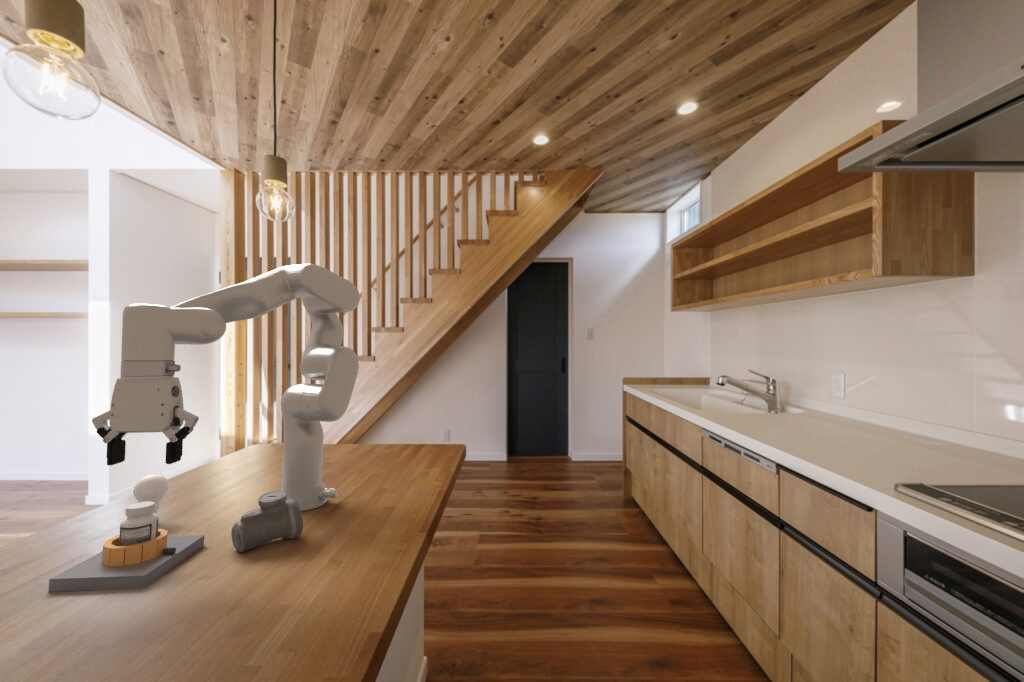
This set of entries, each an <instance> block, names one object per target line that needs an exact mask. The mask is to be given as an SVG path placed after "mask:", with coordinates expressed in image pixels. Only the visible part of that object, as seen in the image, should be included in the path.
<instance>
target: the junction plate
mask: <svg viewBox="0 0 1024 682" xmlns="http://www.w3.org/2000/svg"><path fill="white" fill-rule="evenodd" d="M119 539H120V534H118V535H116V536H113V537H112V538H110V539H107V540H106V541H104V544H103V545H102V551H100V552H99V553H96V554H95V555H93V556H91V557H89V558H87V559H85V560H83V561H81V562H79V563H77V564H75V565H73V566H72V567H70V568H67V569H66V570H64V571H62V572H60V573H58V574H56V575H54V576H53V577H51V578H49V579H48V590H47V591H48V593H49V592H50V593H54V592H55V591H56V592H58V591H59V592H77V591H98V590H99V591H102V590H103V591H105V590H106V591H107V590H122V589H123V590H127V589H128V590H129V589H145V588H146V587H147V586H149V585H150V584H151V583H153V582H154V581H156V580H157V579H159V578H160V577H161V576H163V575H164V574H165V573H167V572H169V571H170V570H171V569H172V568H174V567H175V566H177V565H178V564H180V563H181V562H182V561H184V560H185V559H186V558H188V557H190V556H191V555H192V554H194V553H196V551H198V550H200V549H201V548H202V547H203V546H204V545H205V535H204V534H203V535H173V536H171V535H170V536H168V529H163V528H160V527H158V537H156V538H155V539H153V540H150V541H146V542H143V543H139V544H134V545H129V546H119ZM51 591H52V592H51ZM56 592H55V593H56ZM59 592H58V593H59Z"/></svg>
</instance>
